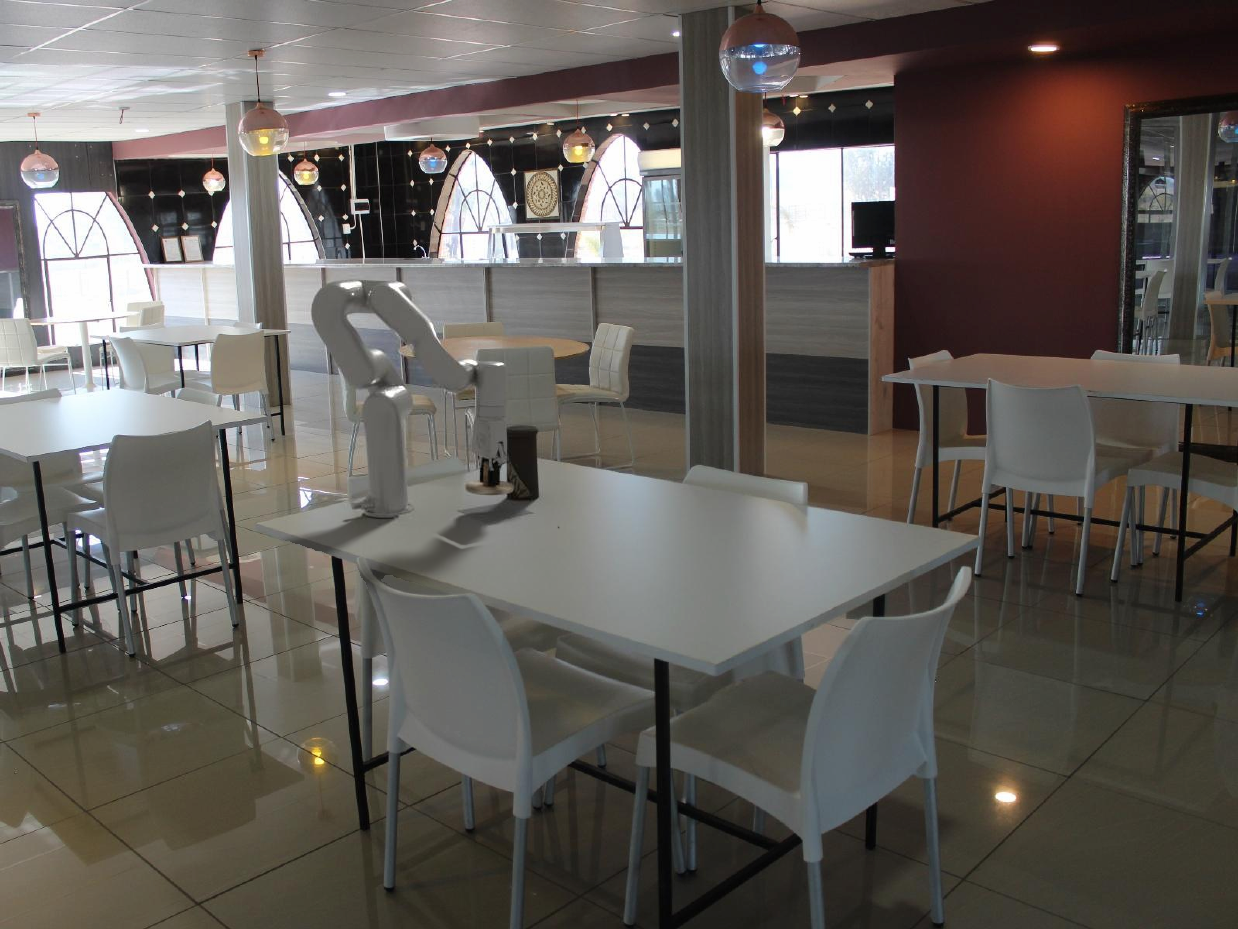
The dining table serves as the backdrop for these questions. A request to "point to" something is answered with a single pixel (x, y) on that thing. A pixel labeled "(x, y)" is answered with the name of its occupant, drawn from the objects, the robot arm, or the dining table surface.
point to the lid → (484, 489)
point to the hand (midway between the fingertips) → (489, 483)
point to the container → (522, 462)
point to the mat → (495, 512)
